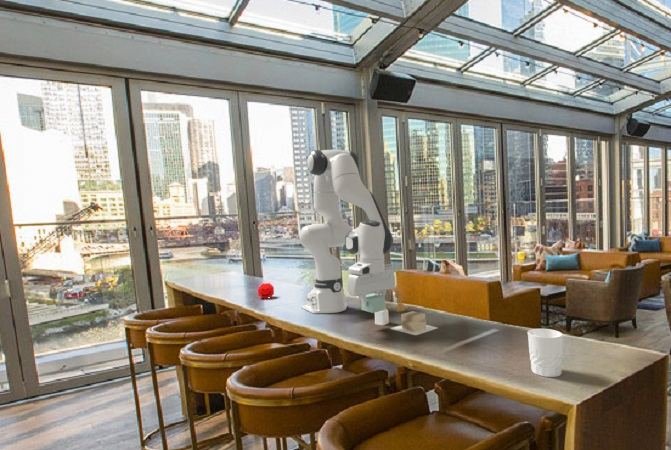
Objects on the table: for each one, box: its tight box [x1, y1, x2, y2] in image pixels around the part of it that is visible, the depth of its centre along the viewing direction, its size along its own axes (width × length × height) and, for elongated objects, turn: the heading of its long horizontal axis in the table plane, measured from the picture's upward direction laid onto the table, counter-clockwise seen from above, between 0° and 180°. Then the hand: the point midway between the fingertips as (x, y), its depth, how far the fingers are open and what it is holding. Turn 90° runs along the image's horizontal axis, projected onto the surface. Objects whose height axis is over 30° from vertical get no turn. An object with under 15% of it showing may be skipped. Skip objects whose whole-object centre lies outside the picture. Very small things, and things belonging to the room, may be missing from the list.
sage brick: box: [360, 293, 386, 314], centre depth 145 cm, size 6×6×5 cm
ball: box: [257, 282, 275, 299], centre depth 217 cm, size 8×8×8 cm
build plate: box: [389, 324, 438, 336], centre depth 143 cm, size 12×12×1 cm
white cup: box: [527, 328, 564, 378], centre depth 102 cm, size 8×8×10 cm
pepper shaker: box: [374, 308, 390, 326], centre depth 152 cm, size 4×4×10 cm
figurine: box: [389, 284, 408, 313], centre depth 169 cm, size 8×6×12 cm
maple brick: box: [400, 310, 427, 332], centre depth 143 cm, size 6×6×5 cm
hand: (373, 304), depth 145 cm, fingers closed on sage brick, 6 cm apart
